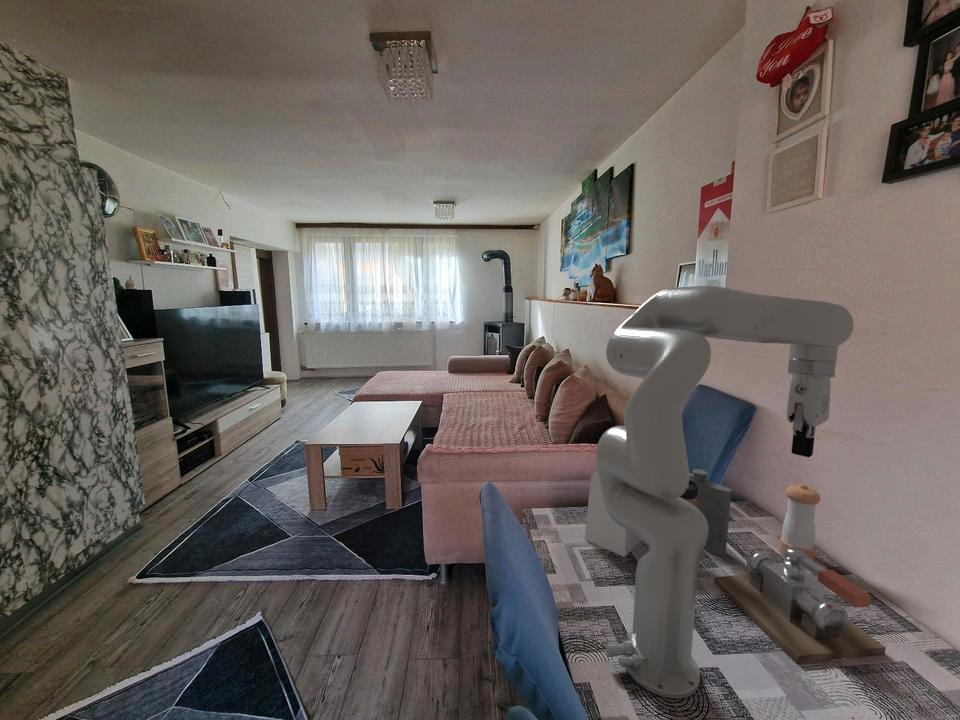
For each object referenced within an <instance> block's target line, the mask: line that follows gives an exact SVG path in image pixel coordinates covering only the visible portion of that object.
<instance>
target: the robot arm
mask: <svg viewBox="0 0 960 720" xmlns="http://www.w3.org/2000/svg"><path fill="white" fill-rule="evenodd" d="M615 329H616V330H614V331H613V333H612V335H611V336H610V338H609V339H608V341H607V344H606V345H607V346H606V350H605V352H606V354H605V355H606V359H607V362H608V364H609V366H610V367H611V368H612V369H613V370H614V371H616V373H617V372H618V373H619V374H621V375H623V376H624V375H625V376H629V377H635V378H640V379H642V381H641V382H640V383H639V385H637V388H636V389H635V390H634V391H633V393H632V394H631V395H630V397H629V398H628V400H627V402H626V404H625V407H624V411H623V422H624V425H615V426H612V427H610V428H608V429H606V431H604V432H603V434H602V435H601V437H600V438H599V440H598V442H597V445H596V449H595V464H596V465H595V466H596V470H598V475H599V480H600V484H601V489H602V493H603V498H604V502H605V506H606V509H607V512H608V514H609V515H610V517H611V518H612V519H613V521H615V522H616V523H617V524H618V525H620V526H621V527H623V528H624V529H626V530H627V531H629V532H630V533H632V534H634V535H635V536H637V537H638V538H639V539H641V540H642V541H641V542H644V543H645V544H646V545H647V546H648V551H647V553H645V554H644V555H643V556H641V557H640V559H639V560H638V562H637V565H636V568H635V585H634V587H635V588H634V601H633V603H634V604H633V620H632V632H628V633H626V639H625V640H622V641H621V643H616V642H615V643H614V642H613V643H606V644H605V646H604V648H605V654H606V656H607V658H612V657H613V658H617V657H618V658H617V659H618V665H619V666H620V667H621V668H625V670H626V671H627V673H628V674H629V676H630V677H631V678H632V679H633V680H634V681H635V682H636V683H637V684H638V685H640V686H641V687H642V688H644V689H645V690H647V691H648V692H651V693H653V694H654V695H657V696H660V697H663V698H667V699H676V700H679V699H685V698H689V697H691V696H692V695H693V694H695V693H696V692H697V690H699V687H700V684H701V683H700V682H701V672H700V669H699V665H698V664H697V662H696V660H695V658H693V656H692V653H693V652H692V649H693V640H694V638H693V636H694V625H695V611H696V602H697V600H696V599H697V597H696V596H697V587H698V586H697V585H698V578H699V571H700V564H701V559H702V556H703V553H704V551H705V549H704V547H705V544H706V541H707V537H708V531H709V528H708V523H707V520H706V518H705V516H704V515H703V513H702V512H701V511H700V510H699V509H698V508H697V507H695V506H694V505H693V504H691V503H690V502H688V501H686V500H684V499H683V498H681V497H680V496H681V495H683V494H684V493H685V491H686V489H687V487H688V484H689V473H690V468H689V461H688V453H687V447H686V442H685V434H684V433H685V432H684V425H683V412H684V409H685V405H686V403H687V401H688V400H689V397H690V396H691V394H692V393H693V391H694V389H695V388H696V387H697V386H698V385H699V382H700V381H701V380H702V379H703V377H704V376H705V374H706V372H707V371H708V369H709V366H710V363H711V359H712V358H711V357H712V350H711V344H710V342H709V341H708V339H707V338H711V339H717V340H718V339H719V340H729V341H738V342H743V343H744V342H745V343H755V344H756V343H757V344H780V345H781V344H782V345H790V347H789V353H788V354H789V355H788V363H787V364H788V365H787V374H788V375H792V377H791V381H790V384H789V385H790V386H789V392H788V398H787V399H788V400H787V406H786V420H787V421H788V422H789V423H793V424H792V433H793V435H792V444H791V454H793V455H797V456H801V457H805V458H810V457H811V456H813V454H814V447H815V445H814V444H815V435H816V428H817V426H820V425H822V424H823V423H826V422H827V421H828V420H829V418H830V417H829V416H830V406H831V404H830V403H831V379H832V378H835V377H836V367H837V359H838V351H839V349H838V348H839V346H841V345H844V343H845V342H847V341H848V340H849V339H850V337H851V336H852V334H853V330H854V318H853V315H852V313H851V312H850V311H849V310H848V309H847V308H846V307H845V306H843V305H840V304H837V303H833V302H827V301H821V300H813V299H803V298H802V299H801V298H792V297H784V296H777V295H768V294H759V293H753V292H747V291H742V290H737V289H733V288H727V287H722V286H715V285H696V286H694V285H693V286H679V287H678V286H677V287H667V288H664V289H662V290H660V291H658V292H657V293H655V294H653V295H652V296H651V297H650V298H649V299H647V300H646V301H645V302H644V303H642V304H641V305H640V306H639V307H638V308H637V309H636V310H635V311H634V312H633V313H631V315H629V316H628V317H627V318H626V319H625V320H624V321H623V322H622V323H621V324H620V325H619V326H618V327H617V328H615Z"/></svg>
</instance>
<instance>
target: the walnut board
mask: <svg viewBox="0 0 960 720" xmlns="http://www.w3.org/2000/svg"><path fill="white" fill-rule="evenodd" d="M750 574H751V573H750ZM750 574H736V575H735V574H733V575H722V576H714V577H713V584H714V585H715V586H716V587H717V588H718V589H719V590H721V592H722V593H723V594H724V595H725V596H726V597H728V599H730V600H731V602H733V604H735V605H736V606H737V607H738V609H740V610H741V611H742V612H743V613H744V614H745V615H746V616H747V617H748V618H749V619H750V620H751V621H752V622H753V623H754V624H755V625H756V626H757V627H758V628H759V629H761V631H763V632H764V634H766V636H767V637H769V638H770V640H772V641H773V642H774V643H775V644H776V645H777V646H778V647H779V648H780V649H781V650H782V651H783V652H784V653H785V654H786V655H787V656H788V657H789V658H790V659H791V660H792V661H793V662H794V663H795V664H805V663H816V662H825V660H827V661H834V660H833V659H837V660H843V659H842V658H847V659H854V658H853V657H857V658H866V657H873V656H875V657H876V656H885V654H886V646H885V645H884V644H882V643H881V642H879V641H878V640H877V639H875V638H874V637H872V635H870V634H868V632H866V631H864V630H863V629H862V628H861V627H859V626H858V625H856V624H855V623H854V622H853V621H851V620H850V619H848V621H847V624H846V626H845V627H844V629H843V630H842V631H840V632H839V636H838V637H837V638H826V639H816V640H815V639H813V638H812V637H811V636H810V635H809V634H808V633H806V632H805V631H804V630H803V629H802V628H801V621H795V622H789V621H788V620H786V619H785V618H784V617H783V616H782V615H781V614H780V613H778V612H777V611H776V610H775V609H774V608H773V607H772V606H770V605H769V604H768V603H767V602H766V601H765V600H764V599H762V598H761V596H762V592H759V591H758V590H757V589H755V588H754V587H753V586H752V585H751V584H750Z"/></svg>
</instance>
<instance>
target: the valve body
mask: <svg viewBox="0 0 960 720" xmlns="http://www.w3.org/2000/svg"><path fill="white" fill-rule="evenodd" d="M746 568H747V569H748V570H749V571H750V584H751V585H752V586H753V587H754V588H755V589H757V590H758V591H759V592H762V596H761V598H762V599H764V600H765V601H766V602H767V603H768V604H769V605H770V606H772V607H773V608H774V609H775V610H776V611H777V612H778V613H780V614H781V615H782V616H783V617H784V618H785V619H786V620H788V621H789V622H795V621H801V628H802V629H803V630H804V631H805V632H806V633H808V634H809V635H810V636H811V637H812V638H813V639H815V640H816V639H826V638H837V637H838V636H839V632H840V631H842V630H843V629H844V627H845V626H846V624H847V621H848V620H849V615H848V613H847V612H848V611H846V609H844V608H843V607H842V606H840V605H839V604H838V603H837V602H835V601H834V600H832V599H829V598H825V597H824V595H825V588H826V586H824V585H823V584H822V583H820V582H819V581H818V578H817V577H815V576H814V575H812V574H810V573H809V571H806V570H807V569H806V568H804V567H803V566H801V565H797V564H794V563H792V562H790V560H788V559H787V558H786V557H784V559H783V563H777V561H776V559H775V557H774V556H771V555H770V554H769V553H767V551H765V550H761V549H758V550H755V551H753V552H751V553H750V554H749V556H747V559H746Z"/></svg>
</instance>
